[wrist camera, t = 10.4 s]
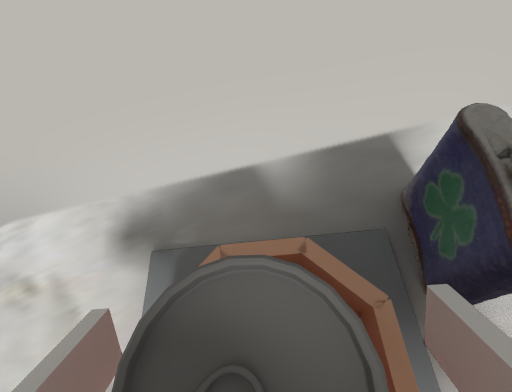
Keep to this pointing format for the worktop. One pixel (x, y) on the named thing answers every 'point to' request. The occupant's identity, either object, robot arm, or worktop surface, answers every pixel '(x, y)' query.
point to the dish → (351, 290)
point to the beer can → (250, 334)
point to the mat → (345, 250)
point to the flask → (466, 206)
